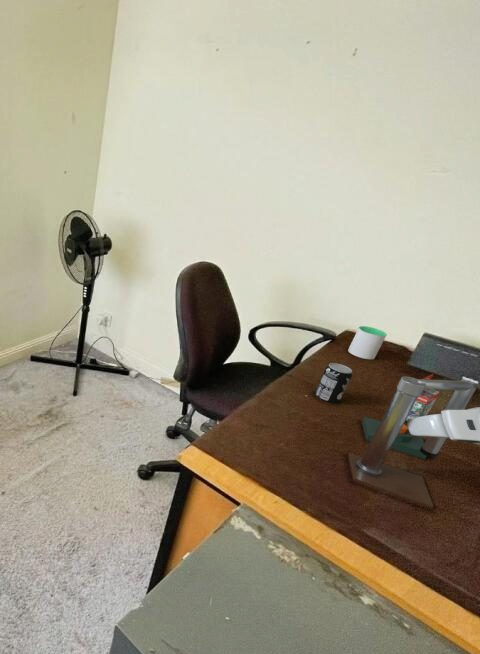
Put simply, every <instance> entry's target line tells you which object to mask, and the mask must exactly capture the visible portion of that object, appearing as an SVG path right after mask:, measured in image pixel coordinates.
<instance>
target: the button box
mask: <svg viewBox="0 0 480 654" xmlns="http://www.w3.org/2000/svg"><path fill="white" fill-rule="evenodd" d="M380 422H381V420H377V419H374V418H370V417H367V416H364V417H362V420H361V424H362V428H363V433H364V436H365V440H366V441H368V442H369V443H370V442H371V440H372V438H373V436H374V434H375V432H376V430H377V428H378V426H379V424H380ZM424 444H425V441H424V439H423V436H413V435H411V434H410V432H409V429H408V430H407V431H406V433H405V434H401V433H399V434H398V436H397V438H396V439H395V441H394V443H393V445H392V447H391V449H390V450H394V451H398V452H401V453H404V454H407V455H410V456H412V457H416V458H420V459H423V460H426V458H427V457H428V456H426V455H424V454H423V453H421V452H420V448H421V447H422V446H424Z"/></svg>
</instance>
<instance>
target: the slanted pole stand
mask: <svg viewBox="0 0 480 654" xmlns="http://www.w3.org/2000/svg"><path fill="white" fill-rule="evenodd" d="M418 397H419V396H412V395H408V394H405V393H403V392H401V391H399V390H398V389H397V388H396V391H395V392H394V394H393V396H392V399H391V400H390V402H389V404H388V406H387V408H386V410H385V412H384V414H383V416H382V418H381V420H380V421H381V422H380V424H379V426H378V428H377V430H376V432H375V434H374V436H373V438H372V440H371V442H370V441H369V443H368V445H367V448H366V449H365V452H363V453H364V454H363V455H362V456H361V455H358V454H356V453H352V452H349V453H348V456H347V458H348V463H349V468H350V472H351V473H350V474H351V478H352V481H353V482H356V483H359V484H361V485H364V486H366V487H369V488H373V489H374V490H378V491H381V492H383V493H386V494H388V495H389V494H390V495H392V496H395V497H398V498H401V499H403V500H406V501H409V502H412V503H415V504H418V505H421V506H423V507H426V508H429V509H434V503H433V500H432V498H431V496H430V493H429V490H428V488H427V485H426V483H425V480H424V478H423V476H421V475H419V474H416V473H413V472H409V471H406V470H403V469H401V468H397V467H394V466H391V465H388V464H385V463H384V462H385V460H386V459H387V456H388V454H389V453H390V450H392V449H391V447H392V445H393V443H394V441H395V439H396V438H397V436H398V434H399V432H400V430H401V428H402V426H403V425H404V424H405V423H406V422H407V421H406V419H407V417H408V415H409V413H410V411H411V410H412V408H413V406H414V404H415V402H416V400H417V398H418Z"/></svg>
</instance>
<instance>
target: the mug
mask: <svg viewBox="0 0 480 654" xmlns="http://www.w3.org/2000/svg"><path fill="white" fill-rule="evenodd" d="M386 338H387V333H386V332H385V331H383V330H381V329H379V328H376V327H372V326H366V325H361V326H359V327H358V328H357V331H356V333H355V335H354V337H353V339H352V340H351V342H350V345H349V347H348V350H347V352H348V353H349V354H351V355H353V356H355V357H357V358H360V359H364V360H375V358H377V357H376V356H377V354H378V352H379V351H380V349H381V347H382V345H383V344H384V340H385V339H386Z"/></svg>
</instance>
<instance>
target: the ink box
mask: <svg viewBox="0 0 480 654" xmlns="http://www.w3.org/2000/svg"><path fill="white" fill-rule="evenodd" d="M433 376H434V373H432V374H430V375H428V376H425V377H424V378H422V379H421V380H432V378H433ZM440 394H441V392H440V391H439V390H430V389H424V390H423V392H422V394H421V395H420V396H419V397H418V398H417V400H416V402H415V404H414V406H413V408H412V410H411V411H410V413H409V415H408V417H407V419H406V421H405V422H407V421H408V420H409V419H412V418H416V417H422V416H427V415H429V413H430V411H431V409H432V407H433V406H434V405H435V402H436V401H437V398H438V397H439V395H440Z"/></svg>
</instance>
